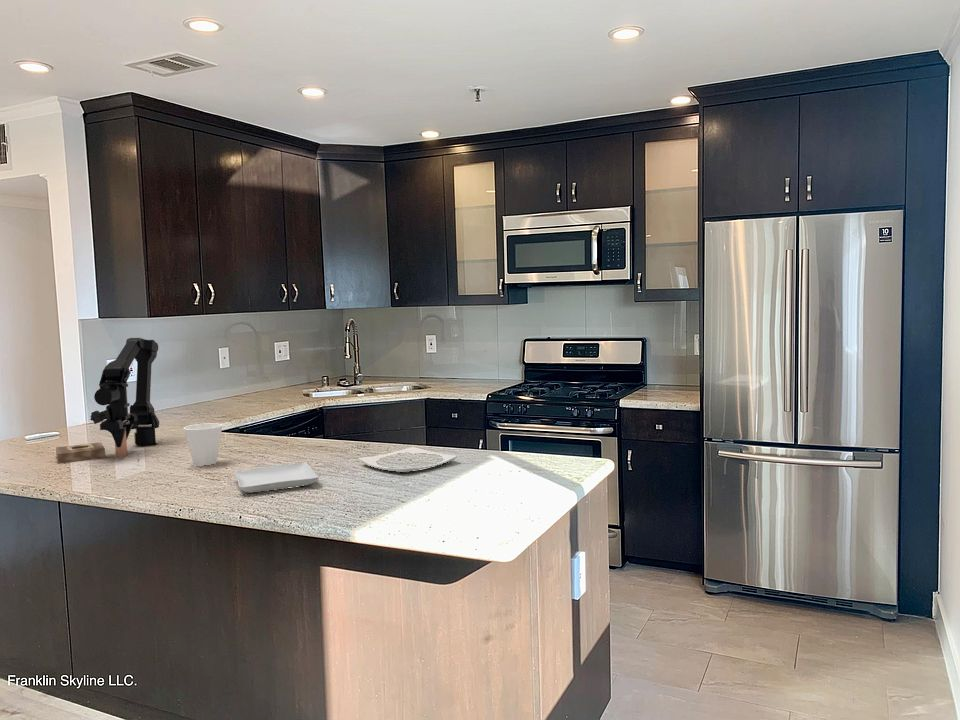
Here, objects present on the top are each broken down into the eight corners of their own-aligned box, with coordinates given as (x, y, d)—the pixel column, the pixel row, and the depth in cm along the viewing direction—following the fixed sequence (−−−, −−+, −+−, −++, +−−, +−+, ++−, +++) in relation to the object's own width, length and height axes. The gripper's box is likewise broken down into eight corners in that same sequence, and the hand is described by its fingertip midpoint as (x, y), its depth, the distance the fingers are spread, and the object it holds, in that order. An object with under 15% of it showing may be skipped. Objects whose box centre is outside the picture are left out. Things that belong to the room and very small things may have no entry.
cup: (232, 460, 234) (230, 423, 233) (207, 469, 222) (205, 430, 221) (203, 459, 237) (200, 422, 236) (177, 467, 226) (174, 428, 225)
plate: (413, 453, 240) (413, 445, 239) (463, 464, 222) (463, 455, 222) (352, 466, 223) (352, 458, 222) (401, 479, 205) (401, 470, 205)
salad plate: (240, 498, 188) (239, 486, 188) (233, 481, 208) (232, 469, 207) (320, 488, 197) (319, 476, 196) (306, 472, 216) (306, 461, 216)
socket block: (101, 451, 256) (101, 441, 255) (105, 457, 244) (104, 447, 244) (56, 456, 248) (55, 446, 248) (58, 463, 236) (57, 453, 236)
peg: (126, 454, 249) (125, 428, 248) (128, 455, 246) (126, 430, 245) (115, 455, 247) (113, 430, 246) (116, 457, 244) (114, 431, 243)
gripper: (103, 398, 253) (106, 442, 254) (81, 406, 235) (85, 452, 236) (136, 397, 255) (139, 440, 256) (117, 404, 236) (120, 451, 237)
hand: (121, 446), depth 246 cm, fingers closed on peg, 4 cm apart
